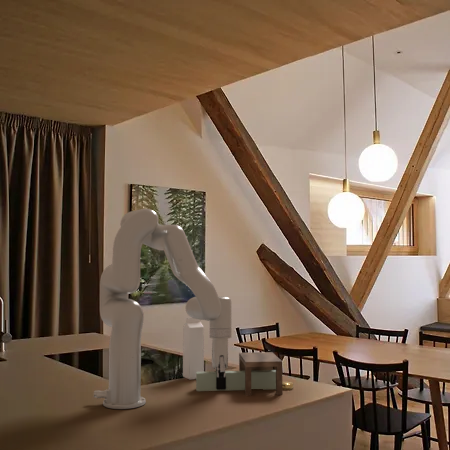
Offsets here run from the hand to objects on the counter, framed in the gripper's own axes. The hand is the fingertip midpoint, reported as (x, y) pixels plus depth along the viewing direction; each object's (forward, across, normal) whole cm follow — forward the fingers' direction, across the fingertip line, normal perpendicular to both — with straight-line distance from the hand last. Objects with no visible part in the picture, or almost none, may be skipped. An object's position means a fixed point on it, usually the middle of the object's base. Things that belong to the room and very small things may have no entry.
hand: (220, 387), depth 178 cm
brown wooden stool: (+1, 0, +13) cm, 13 cm away
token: (+1, 0, +22) cm, 23 cm away
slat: (+1, 0, +6) cm, 6 cm away
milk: (+1, -20, -9) cm, 22 cm away
